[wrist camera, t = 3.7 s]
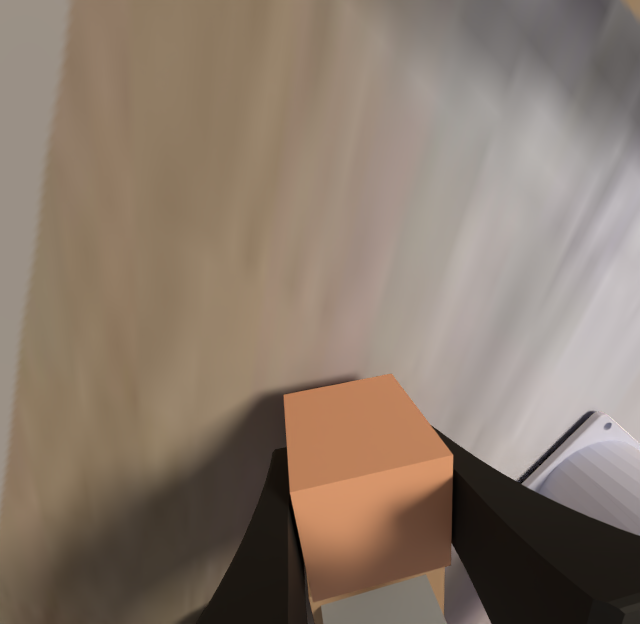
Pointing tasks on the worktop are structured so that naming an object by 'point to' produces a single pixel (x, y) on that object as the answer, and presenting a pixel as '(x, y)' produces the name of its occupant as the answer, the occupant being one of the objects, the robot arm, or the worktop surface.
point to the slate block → (388, 605)
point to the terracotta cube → (366, 485)
